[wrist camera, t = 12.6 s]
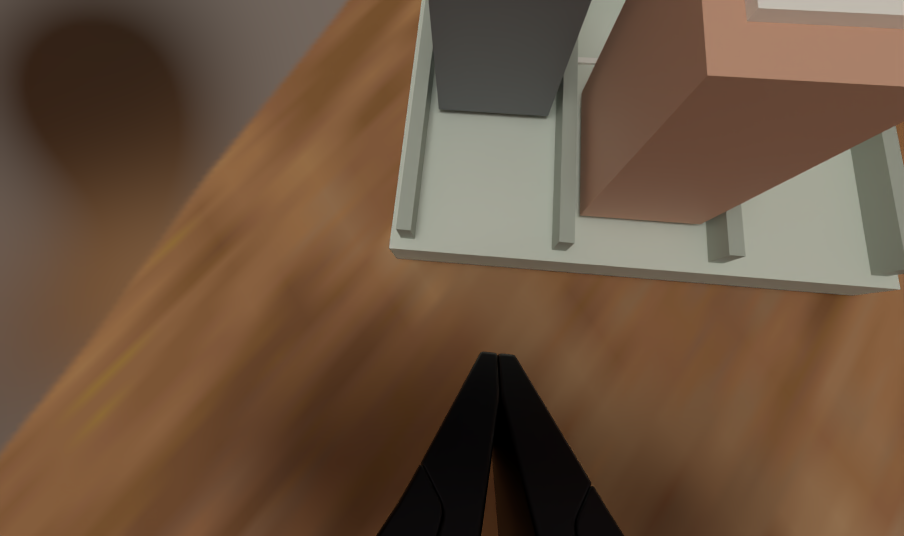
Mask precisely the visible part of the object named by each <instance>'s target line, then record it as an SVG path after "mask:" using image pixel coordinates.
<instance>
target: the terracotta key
mask: <svg viewBox="0 0 904 536" xmlns="http://www.w3.org/2000/svg"><path fill="white" fill-rule="evenodd" d="M903 121H904V0H626V1H625V3H624V5H623V7H622V9H621V11H620V13H619V15H618V18H617V20H616V22H615V24H614V26H613V28H612V30H611V32H610V34H609V36H608V39H607V41H606V43H605V45H604V47H603V49H602V51H601V53H600V55H599V57H598V60H597V62H596V64H595V66H594V68H593V70H592V72H591V74H590V76H589V78H588V81H587V83H586V85H585V87H584V89H583V91H582V99H581V169H580V215H581V216H594V217H608V218H621V219H634V220H648V221H661V222H674V223H688V224H702V223H704V222H706V221H708V220H710V219H712V218H714V217H716V216H718V215H720V214H722V213H724V212H726V211H728V210H730V209H732V208H734V207H736V206H738V205H740V204H742V203H744V202H746V201H748V200H750V199H752V198H754V197H756V196H757V195H759V194H761V193H763V192H765V191H767V190H769V189H771V188H773V187H775V186H777V185H779V184H781V183H783V182H785V181H787V180H789V179H791V178H793V177H795V176H797V175H799V174H801V173H803V172H805V171H807V170H809V169H811V168H813V167H815V166H817V165H819V164H821V163H823V162H825V161H827V160H829V159H830V158H832V157H834V156H836V155H838V154H840V153H842V152H844V151H846V150H848V149H850V148H852V147H854V146H856V145H858V144H860V143H862V142H864V141H866V140H868V139H870V138H872V137H874V136H876V135H878V134H880V133H882V132H884V131H886V130H888V129H890V128H892V127H894V126H896V125H898V124H900V123H902V122H903Z"/></svg>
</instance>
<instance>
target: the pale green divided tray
mask: <svg viewBox="0 0 904 536" xmlns="http://www.w3.org/2000/svg"><path fill="white" fill-rule="evenodd" d="M625 1H626V0H592V1H591V3H590V6H589V9H588V11H587V14H586V17H585V19H584V22H583V25H582V27H581V30H580V33H579V35H578V38H577V40H576V43H575V46H574V48H573V51H572V54H571V56H570V59H569V62H568V64H567V67H566V70H565V72H564V75H563V78H562V80H561V83H560V85H559V88H558V91H557V93H556V96H555V99H554V101H553V104H552V107H551V109H550V112H549V115H548V116H536V115H521V114H505V113H489V112H473V111H457V110H441V109H439V106H438V96H437V85H436V75H435V64H434V54H433V43H432V33H431V22H430V12H429V1H428V0H422V3H421V11H420V18H419V26H418V34H417V41H416V49H415V56H414V64H413V71H412V79H411V87H410V94H409V102H408V109H407V117H406V124H405V132H404V140H403V147H402V155H401V162H400V170H399V177H398V185H397V193H396V200H395V208H394V215H393V223H392V230H391V238H390V245H389V249H390V250H391V251H392V253H393V254H394V255H395V257H396V258H400V259H412V260H424V261H437V262H449V263H461V264H473V265H485V266H498V267H510V268H522V269H534V270H547V271H559V272H571V273H583V274H595V275H608V276H620V277H632V278H644V279H657V280H669V281H681V282H693V283H705V284H718V285H730V286H742V287H754V288H767V289H779V290H791V291H803V292H815V293H828V294H840V295H852V296H853V295H860V294H868V293H876V292H884V291H892V290H899V289H900V285H899V279H898V274H904V166H903V161H902V156H901V151H900V146H899V141H898V136H897V131H896V126H894V127H892V128H890V129H888V130H886V131H884V132H882V133H880V134H878V135H876V136H874V137H872V138H870V139H868V140H866V141H864V142H862V143H860V144H858V145H856V146H854V147H852V148H850V149H848V150H846V151H844V152H842V153H840V154H838V155H836V156H834V157H832V158H830V159H829V160H827V161H825V162H823V163H821V164H819V165H817V166H815V167H813V168H811V169H809V170H807V171H805V172H803V173H801V174H799V175H797V176H795V177H793V178H791V179H789V180H787V181H785V182H783V183H781V184H779V185H777V186H775V187H773V188H771V189H769V190H767V191H765V192H763V193H761V194H759V195H757V196H756V197H754V198H752V199H750V200H748V201H746V202H744V203H742V204H740V205H738V206H736V207H734V208H732V209H730V210H728V211H726V212H724V213H722V214H720V215H718V216H716V217H714V218H712V219H710V220H708V221H706V222H704V223H702V224H688V223H674V222H661V221H648V220H634V219H621V218H608V217H594V216H581V215H580V169H581V99H582V91H583V89H584V87H585V85H586V83H587V81H588V78H589V76H590V74H591V72H592V70H593V68H594V66H595V64H596V62H597V60H598V57H599V55H600V53H601V51H602V49H603V47H604V45H605V43H606V41H607V39H608V36H609V34H610V32H611V30H612V28H613V26H614V24H615V22H616V20H617V18H618V15H619V13H620V11H621V9H622V7H623V5H624V3H625Z"/></svg>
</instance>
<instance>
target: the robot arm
mask: <svg viewBox="0 0 904 536" xmlns="http://www.w3.org/2000/svg"><path fill="white" fill-rule="evenodd" d="M491 458H492V462H493V474H494V486H495V498H496V510H497V523H498V535H499V536H624V535H623V533H622V532H621V530H620V528H619V527H618V525H617V524H616V522H615V520H614V519H613V517H612V516H611V514H610V513H609V511H608V509H607V508H606V506H605V505H604V503H603V501H602V500H601V498H600V496H599V495H598V493H597V491H596V489H595V488H594V487H593V486H591V481H590V480H589V478H588V476H587V475H586V473H585V471H584V470H583V468H582V466H581V465H580V463H579V461H578V460H577V458H576V456H575V455H574V453H573V451H572V450H571V448H570V446H569V445H568V443H567V441H566V440H565V438H564V436H563V435H562V433H561V431H560V430H559V428H558V426H557V425H556V423H555V421H554V420H553V418H552V416H551V415H550V413H549V411H548V410H547V408H546V406H545V405H544V403H543V401H542V400H541V398H540V396H539V395H538V393H537V391H536V390H535V388H534V386H533V385H532V383H531V381H530V380H529V378H528V376H527V375H526V373H525V371H524V370H523V368H522V366H521V365H520V363H519V361H518V360H517V358H516V357H515V356H514V355H511V354H498V356H497V354H496V353H492V352H481V353H480V354H479V356H478V358H477V360H476V362H475V364H474V365H473V367H472V369H471V371H470V373H469V375H468V376H467V378H466V380H465V382H464V384H463V386H462V388H461V389H460V391H459V393H458V395H457V397H456V399H455V401H454V402H453V404H452V406H451V408H450V410H449V412H448V413H447V415H446V417H445V419H444V421H443V423H442V425H441V426H440V428H439V430H438V432H437V434H436V436H435V437H434V439H433V441H432V443H431V445H430V447H429V449H428V450H427V452H426V454H425V456H424V458H423V460H422V462H421V465H419V467H418V468H417V470H416V472H415V474H414V476H413V478H412V480H411V481H410V483H409V485H408V486H407V488H406V490H405V492H404V493H403V495H402V497H401V498H400V500H399V502H398V504H397V505H396V507H395V508H394V510H393V511H392V513H391V514H390V516H389V517H388V519H387V520H386V522H385V523H384V525H383V526H382V528H381V529H380V531H379V532H378V534H377V535H376V536H481V532H482V525H483V517H484V510H485V503H486V495H487V488H488V480H489V473H490V466H491ZM590 486H591V487H590Z"/></svg>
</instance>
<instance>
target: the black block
mask: <svg viewBox="0 0 904 536" xmlns="http://www.w3.org/2000/svg"><path fill="white" fill-rule="evenodd" d="M428 1H429V12H430V22H431V33H432V43H433V54H434V64H435V75H436V85H437V96H438V106H439V109H441V110H457V111H473V112H489V113H505V114H521V115H536V116H548V115H549V112H550V109H551V107H552V104H553V101H554V99H555V96H556V93H557V91H558V88H559V85H560V83H561V80H562V78H563V75H564V72H565V70H566V67H567V64H568V62H569V59H570V56H571V54H572V51H573V48H574V46H575V43H576V40H577V38H578V35H579V33H580V30H581V27H582V25H583V22H584V19H585V17H586V14H587V11H588V9H589V6H590V3H591V1H592V0H428Z"/></svg>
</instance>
